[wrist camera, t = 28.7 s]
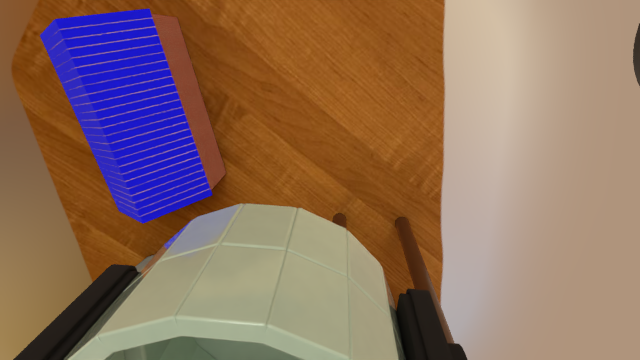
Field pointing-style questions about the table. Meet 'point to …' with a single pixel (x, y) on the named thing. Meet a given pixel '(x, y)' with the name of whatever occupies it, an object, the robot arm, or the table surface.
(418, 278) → the tray
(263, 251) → the dish
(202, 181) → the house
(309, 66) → the table surface
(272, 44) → the table surface
